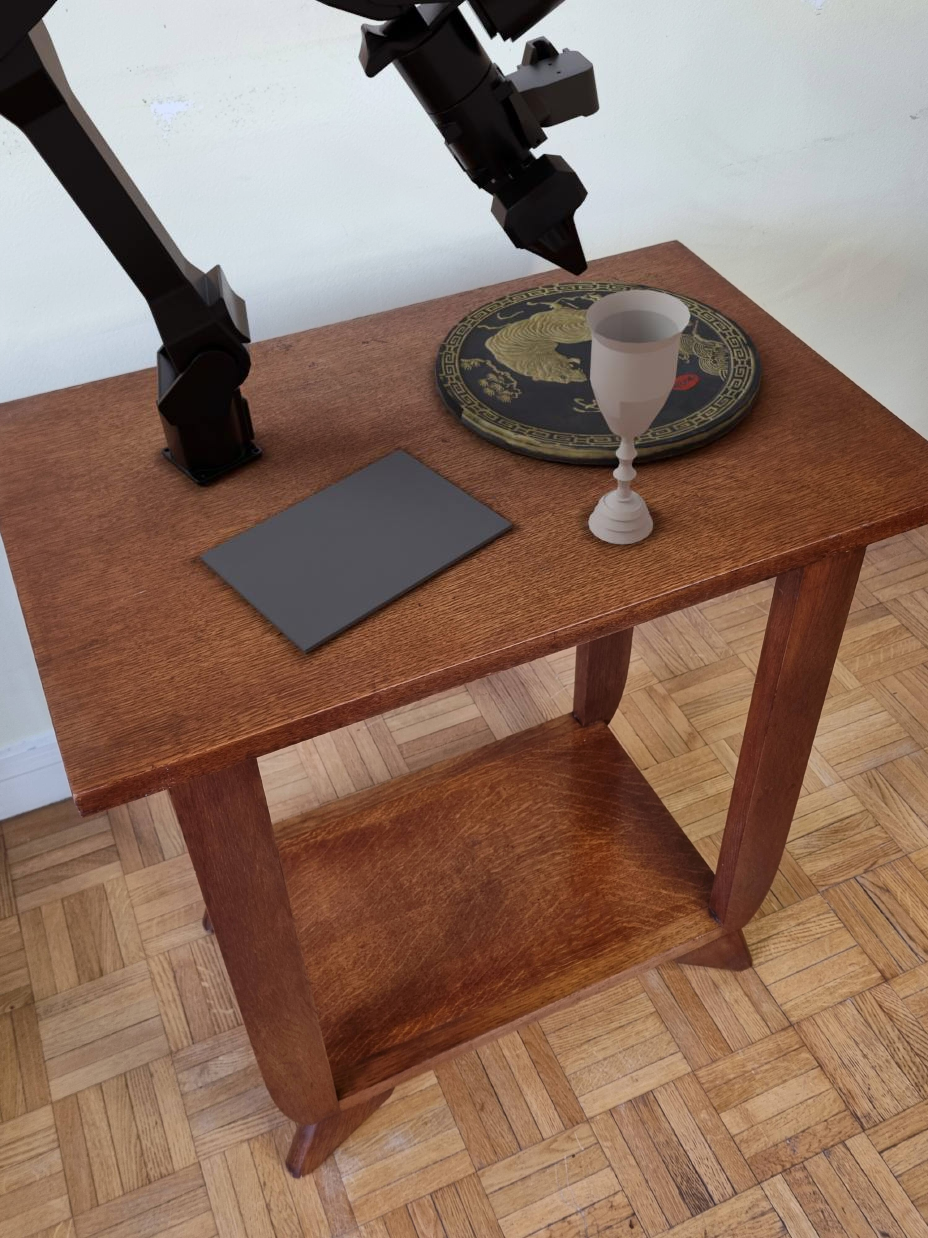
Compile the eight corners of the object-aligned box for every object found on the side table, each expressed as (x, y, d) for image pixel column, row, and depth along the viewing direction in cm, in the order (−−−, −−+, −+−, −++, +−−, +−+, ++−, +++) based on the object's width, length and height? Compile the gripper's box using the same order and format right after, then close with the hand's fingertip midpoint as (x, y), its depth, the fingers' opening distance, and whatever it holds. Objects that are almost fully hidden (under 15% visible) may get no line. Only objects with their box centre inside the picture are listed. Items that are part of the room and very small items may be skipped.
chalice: (611, 484, 89) (626, 279, 77) (682, 516, 86) (710, 308, 73) (558, 529, 85) (564, 322, 73) (630, 565, 82) (650, 354, 69)
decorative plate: (835, 372, 96) (565, 494, 85) (831, 391, 98) (564, 513, 87) (619, 251, 115) (374, 339, 104) (618, 268, 116) (375, 356, 105)
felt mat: (305, 654, 77) (305, 650, 76) (200, 559, 84) (199, 555, 84) (512, 527, 86) (512, 523, 85) (400, 452, 93) (400, 448, 93)
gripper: (594, 44, 69) (695, 229, 79) (512, -25, 82) (607, 141, 92) (454, 159, 71) (568, 324, 82) (396, 74, 85) (501, 225, 95)
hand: (563, 247), depth 88 cm, fingers open, 9 cm apart
